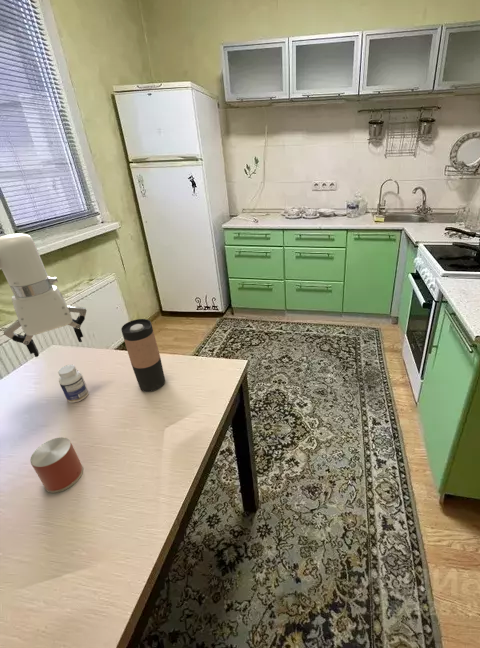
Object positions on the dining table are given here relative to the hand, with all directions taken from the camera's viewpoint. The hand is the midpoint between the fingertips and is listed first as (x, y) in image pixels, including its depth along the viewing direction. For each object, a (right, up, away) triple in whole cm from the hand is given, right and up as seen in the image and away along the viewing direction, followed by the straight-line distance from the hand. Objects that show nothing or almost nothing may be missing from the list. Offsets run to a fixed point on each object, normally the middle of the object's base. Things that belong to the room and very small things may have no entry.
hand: (59, 346), depth 84 cm
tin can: (+12, -26, -15) cm, 32 cm away
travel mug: (+20, -13, +11) cm, 26 cm away
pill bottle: (0, -15, +8) cm, 17 cm away
